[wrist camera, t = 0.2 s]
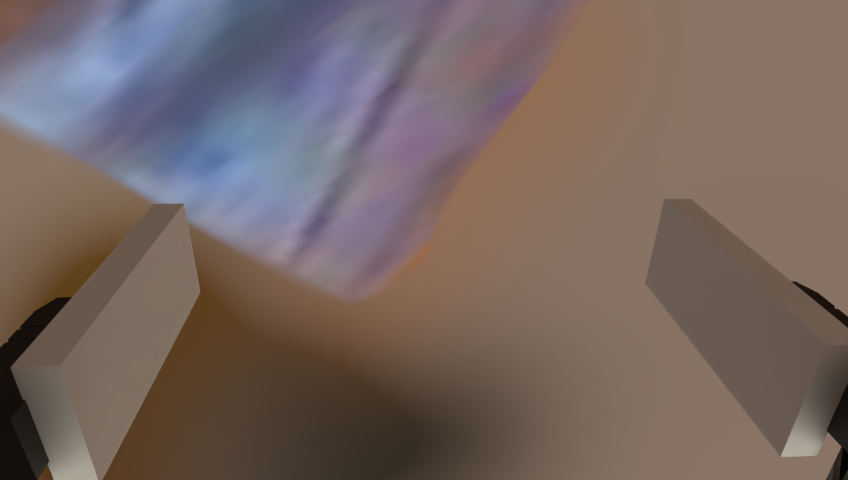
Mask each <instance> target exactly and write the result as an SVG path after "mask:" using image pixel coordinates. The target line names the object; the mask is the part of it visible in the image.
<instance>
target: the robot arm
mask: <svg viewBox="0 0 848 480" xmlns="http://www.w3.org/2000/svg"><path fill="white" fill-rule="evenodd" d="M646 285H647V286H648V287H649V289H650V290H651V291H652V292H653V294H654V295H655V296H656V297H657V299H658V300H659V302H660V303H661V304H662V305H663V307H664V308H665V309H666V310H667V312H668V313H669V314H670V316H671V317H672V318H673V319H674V321H675V322H676V323H677V325H678V326H679V327H680V328H681V330H682V331H683V332H684V334H685V335H686V336H687V337H688V339H689V340H690V341H691V343H692V344H693V345H694V346H695V348H696V349H697V350H698V352H699V353H700V354H701V355H702V357H703V358H704V359H705V361H706V362H707V363H708V364H709V366H710V367H711V368H712V369H713V371H714V372H715V373H716V375H717V376H718V377H719V379H720V380H721V381H722V382H723V384H724V385H725V386H726V388H727V389H728V390H729V391H730V393H731V394H732V395H733V396H734V398H735V399H736V400H737V402H738V403H739V404H740V405H741V407H742V408H743V409H744V411H745V412H746V413H747V414H748V416H749V417H750V418H751V419H752V421H753V422H754V423H755V425H756V426H757V427H758V429H759V430H760V431H761V432H762V434H763V435H764V436H765V438H766V439H767V440H768V441H769V443H770V444H771V445H772V447H773V448H774V449H775V450H776V452H777V453H778V454H779V455H780V457H790V456H815V455H818V452H819V450H820V448H821V446H822V444H823V442H824V439H825V437H826V435H827V433H828V432H829V433H830V435H831V436H832V437H833V438H834V439H835V440H836V441H837V442H838V443H839V444H840V445H841V449H840V452H839V454H838V456H837V458H836V460H835V462H834V464H833V466H832V468H831V470H830V473H829V475H828V477H827V479H826V480H848V317H847V316H846V315H845V314H844V313H842V312H841V311H840V310H839V309H835V307H834V305H832V304H831V303H830V302H828V301H827V300H826V299H825V298H824V297H822V296H821V295H820V294H819V293H817V292H815V291H813V290H811V289H809V288H807V287H805V286H803V285H801V284H799V283H797V282H795V281H794V282H791V281H790V280H789V279H788V278H786V277H785V276H784V275H783V274H782V273H780V272H779V271H778V270H777V269H776V268H774V267H773V266H772V265H770V264H769V263H768V262H767V261H766V260H764V259H763V258H762V257H761V256H760V255H758V254H757V253H756V252H755V251H754V250H752V249H751V248H750V247H749V246H747V245H746V244H745V243H744V242H742V241H741V240H740V239H738V237H737V236H735V235H734V234H733V233H732V232H730V231H729V230H728V229H727V228H725V227H724V226H723V225H722V224H721V223H719V222H718V221H717V220H716V219H714V218H713V217H712V216H711V215H710V214H708V213H707V212H706V211H705V210H704V209H702V208H701V207H700V206H699V205H697V204H696V203H695V202H694V201H693V200H691V199H664V203H663V208H662V212H661V216H660V221H659V225H658V230H657V234H656V238H655V243H654V248H653V252H652V256H651V261H650V265H649V270H648V275H647V279H646ZM199 294H200V288H199V283H198V277H197V272H196V267H195V261H194V256H193V250H192V245H191V240H190V235H189V229H188V224H187V218H186V213H185V208H184V204H154V205H153V206H152V207H151V208H150V209H149V210H148V212H147V213H146V214H145V215H144V216H143V217H142V218H141V220H140V221H139V222H138V223H137V224H136V225H135V226H134V227H133V229H132V230H131V231H130V232H129V233H128V234H127V235H126V237H125V238H124V239H123V240H122V241H121V242H120V243H119V245H118V246H117V247H116V248H115V249H114V250H113V251H112V253H111V254H110V255H109V256H108V257H107V258H106V259H105V260H104V262H103V263H102V264H101V265H100V266H99V267H98V268H97V270H96V271H95V272H94V273H93V274H92V275H91V276H90V278H89V279H88V280H87V281H86V282H85V283H84V284H83V286H82V287H81V288H80V289H79V290H78V291H77V293H75V295H74V296H73V297H66V298H65V297H63V298H56V299H54V300H53V301H51V302H50V303H48V304H46V305H44V306H43V307H41V308H39V309H38V310H36V311H35V312H34V313H33V314H32V315H31V316H30V317H29V318H28V319H27V320H26V321H25V322H24V323H23V324H22V325H21V326H20V330H17V331H16V332H15V333H14V334H13V335H12V336H11V337H10V338H9V339H8V342H6V343H5V344H3V345H2V347H1V348H0V480H38V478H39V476H40V475H41V473H42V472H43V470H44V469H45V467H46V466H47V464H48V466H49V468H50V471H51V473H52V476H53V479H54V480H102V479H103V477H104V476H105V474H106V472H107V470H108V468H109V466H110V464H111V462H112V460H113V458H114V456H115V454H116V452H117V451H118V449H119V447H120V445H121V443H122V441H123V439H124V437H125V435H126V433H127V431H128V430H129V428H130V426H131V424H132V422H133V420H134V418H135V416H136V414H137V412H138V410H139V408H140V407H141V405H142V403H143V401H144V399H145V397H146V395H147V393H148V391H149V389H150V387H151V386H152V383H153V382H154V380H155V378H156V376H157V374H158V372H159V370H160V368H161V366H162V364H163V363H164V361H165V359H166V357H167V355H168V353H169V351H170V349H171V347H172V345H173V343H174V342H175V340H176V338H177V336H178V334H179V332H180V330H181V328H182V326H183V324H184V322H185V321H186V318H187V317H188V315H189V313H190V311H191V309H192V307H193V305H194V303H195V301H196V299H197V298H198V296H199Z"/></svg>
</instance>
